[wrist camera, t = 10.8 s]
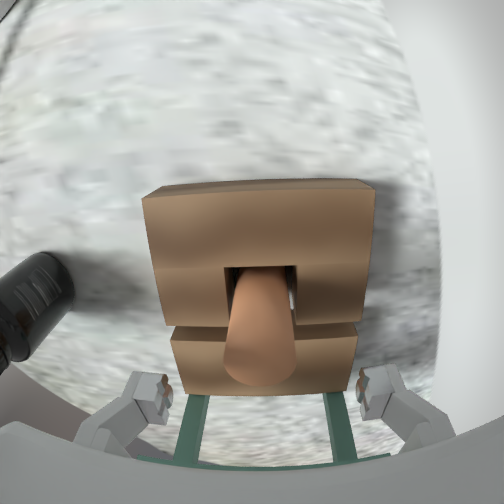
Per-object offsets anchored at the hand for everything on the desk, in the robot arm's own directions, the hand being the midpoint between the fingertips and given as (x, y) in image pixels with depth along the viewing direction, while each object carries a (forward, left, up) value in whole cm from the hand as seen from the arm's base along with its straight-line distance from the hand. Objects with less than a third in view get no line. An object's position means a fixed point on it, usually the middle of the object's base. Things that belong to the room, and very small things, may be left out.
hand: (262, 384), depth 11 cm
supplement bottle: (+2, -21, -13) cm, 25 cm away
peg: (+1, 0, -12) cm, 12 cm away
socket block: (+2, 0, -12) cm, 13 cm away
